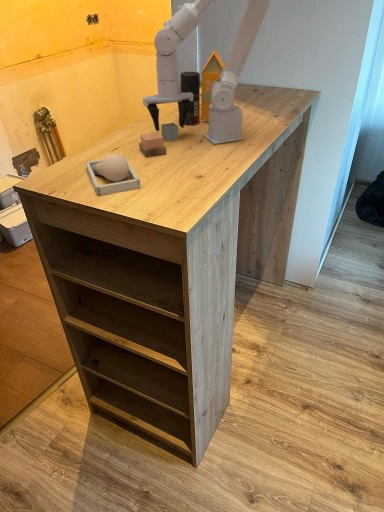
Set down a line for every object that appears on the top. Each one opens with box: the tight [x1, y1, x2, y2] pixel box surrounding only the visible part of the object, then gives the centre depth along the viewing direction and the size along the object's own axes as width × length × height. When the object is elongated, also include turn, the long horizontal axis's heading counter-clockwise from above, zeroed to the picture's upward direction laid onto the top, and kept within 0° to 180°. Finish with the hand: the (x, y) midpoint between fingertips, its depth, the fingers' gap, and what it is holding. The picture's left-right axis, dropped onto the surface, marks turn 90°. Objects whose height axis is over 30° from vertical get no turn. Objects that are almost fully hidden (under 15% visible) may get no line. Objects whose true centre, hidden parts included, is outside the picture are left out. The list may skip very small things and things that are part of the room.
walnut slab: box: [138, 142, 167, 159], centre depth 104 cm, size 6×6×2 cm
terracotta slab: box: [140, 131, 165, 149], centre depth 103 cm, size 5×5×2 cm
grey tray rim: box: [85, 155, 142, 197], centre depth 91 cm, size 10×15×2 cm
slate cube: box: [160, 122, 180, 143], centre depth 112 cm, size 4×4×4 cm
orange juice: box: [200, 49, 225, 121], centre depth 124 cm, size 8×9×20 cm
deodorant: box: [180, 71, 201, 127], centre depth 119 cm, size 6×6×15 cm
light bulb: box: [92, 153, 129, 183], centre depth 91 cm, size 7×7×11 cm
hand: (169, 128), depth 111 cm, fingers open, 7 cm apart
